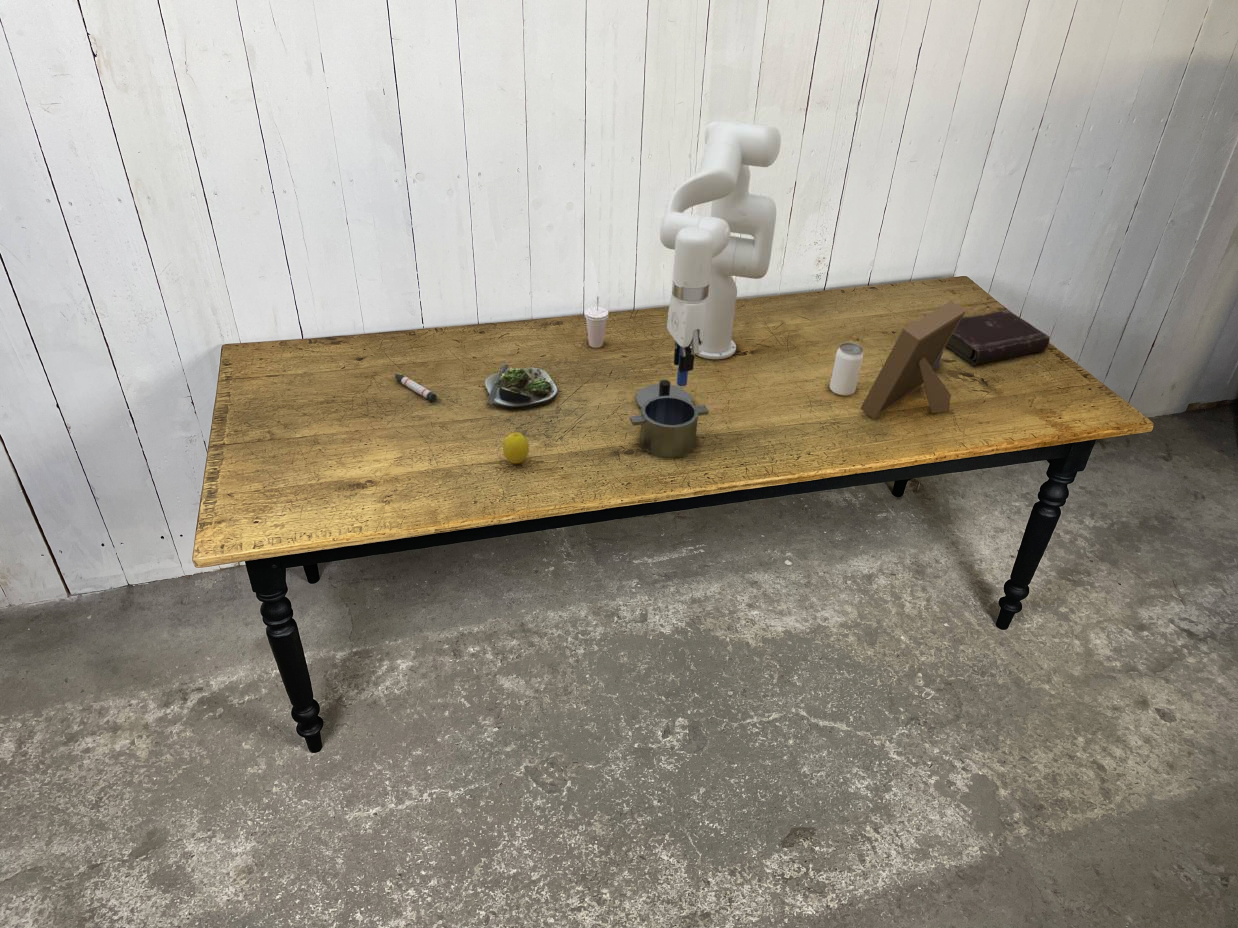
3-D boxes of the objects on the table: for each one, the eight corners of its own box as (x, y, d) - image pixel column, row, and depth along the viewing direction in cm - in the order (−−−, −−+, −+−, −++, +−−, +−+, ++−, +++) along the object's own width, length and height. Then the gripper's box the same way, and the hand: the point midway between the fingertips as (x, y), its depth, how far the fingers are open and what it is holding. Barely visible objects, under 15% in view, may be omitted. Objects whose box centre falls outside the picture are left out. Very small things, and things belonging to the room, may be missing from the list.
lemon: (504, 455, 192) (502, 426, 187) (529, 455, 192) (528, 425, 188) (503, 471, 188) (501, 441, 183) (529, 470, 188) (528, 440, 183)
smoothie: (611, 341, 236) (612, 294, 227) (602, 352, 231) (604, 304, 222) (589, 336, 237) (589, 289, 229) (580, 347, 232) (581, 299, 224)
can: (855, 398, 216) (865, 356, 209) (829, 394, 217) (837, 352, 210) (854, 385, 221) (864, 343, 214) (829, 381, 222) (838, 340, 215)
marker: (437, 399, 209) (436, 392, 208) (430, 403, 208) (429, 396, 207) (398, 376, 217) (397, 369, 216) (391, 379, 216) (390, 372, 215)
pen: (674, 381, 191) (678, 331, 184) (684, 380, 192) (689, 330, 184) (678, 387, 189) (683, 337, 182) (688, 385, 190) (693, 335, 182)
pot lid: (628, 392, 215) (629, 372, 212) (679, 384, 219) (681, 365, 215) (646, 421, 205) (647, 401, 201) (699, 413, 208) (701, 393, 205)
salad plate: (473, 375, 219) (472, 359, 216) (541, 364, 224) (541, 349, 221) (491, 415, 204) (490, 399, 202) (563, 403, 210) (563, 387, 207)
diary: (1046, 352, 238) (1052, 336, 235) (974, 368, 230) (980, 351, 227) (998, 322, 252) (1003, 307, 249) (929, 336, 244) (934, 320, 241)
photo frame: (859, 412, 211) (881, 320, 196) (905, 381, 224) (929, 292, 209) (913, 438, 203) (940, 344, 188) (958, 404, 215) (987, 314, 200)
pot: (621, 432, 201) (623, 401, 196) (693, 421, 205) (696, 391, 200) (639, 463, 191) (640, 432, 186) (714, 451, 196) (717, 420, 191)
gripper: (659, 275, 182) (654, 352, 193) (687, 308, 170) (680, 388, 181) (692, 271, 184) (685, 347, 195) (722, 304, 172) (713, 383, 183)
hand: (683, 366), depth 188 cm, fingers closed on pen, 2 cm apart
